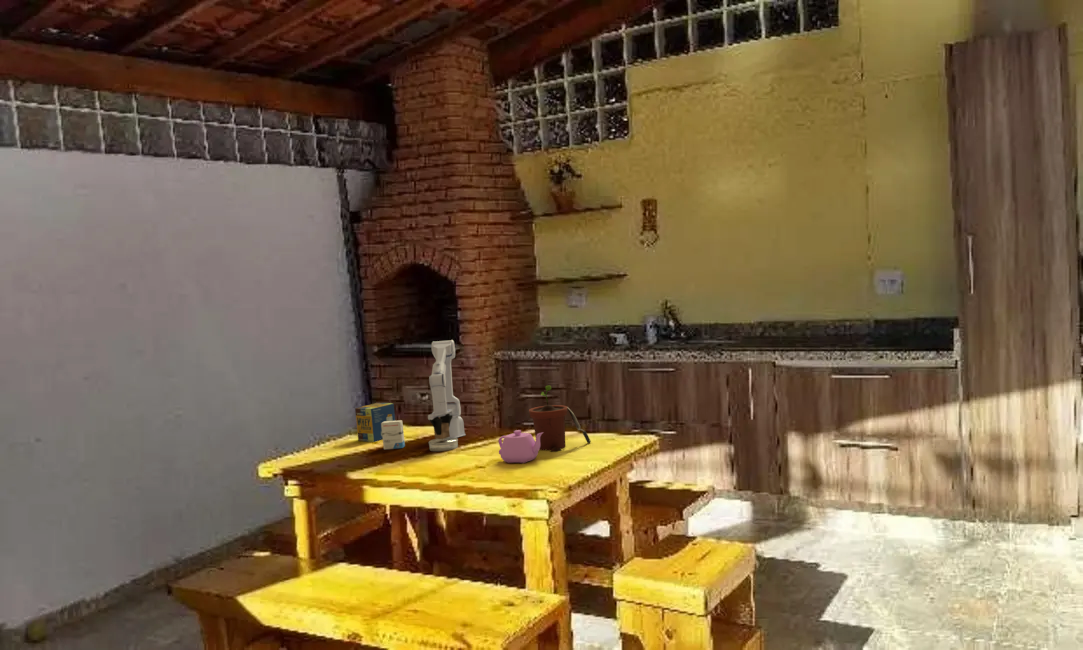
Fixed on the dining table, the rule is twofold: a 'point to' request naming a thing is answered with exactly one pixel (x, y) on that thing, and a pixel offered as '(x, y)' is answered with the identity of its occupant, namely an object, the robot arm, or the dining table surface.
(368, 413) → the protein box
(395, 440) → the ink box
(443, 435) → the walnut block
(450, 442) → the biscuit tin
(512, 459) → the teapot
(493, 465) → the dining table surface
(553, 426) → the potted plant
